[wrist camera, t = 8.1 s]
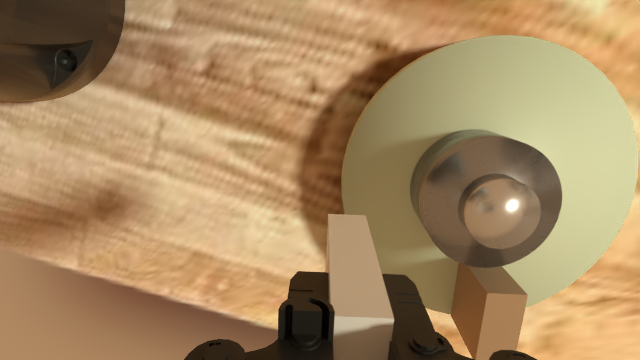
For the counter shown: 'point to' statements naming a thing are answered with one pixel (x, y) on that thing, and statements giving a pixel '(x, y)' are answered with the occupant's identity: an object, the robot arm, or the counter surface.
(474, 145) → the cover
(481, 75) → the turntable
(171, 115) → the counter surface
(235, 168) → the counter surface
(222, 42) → the counter surface
